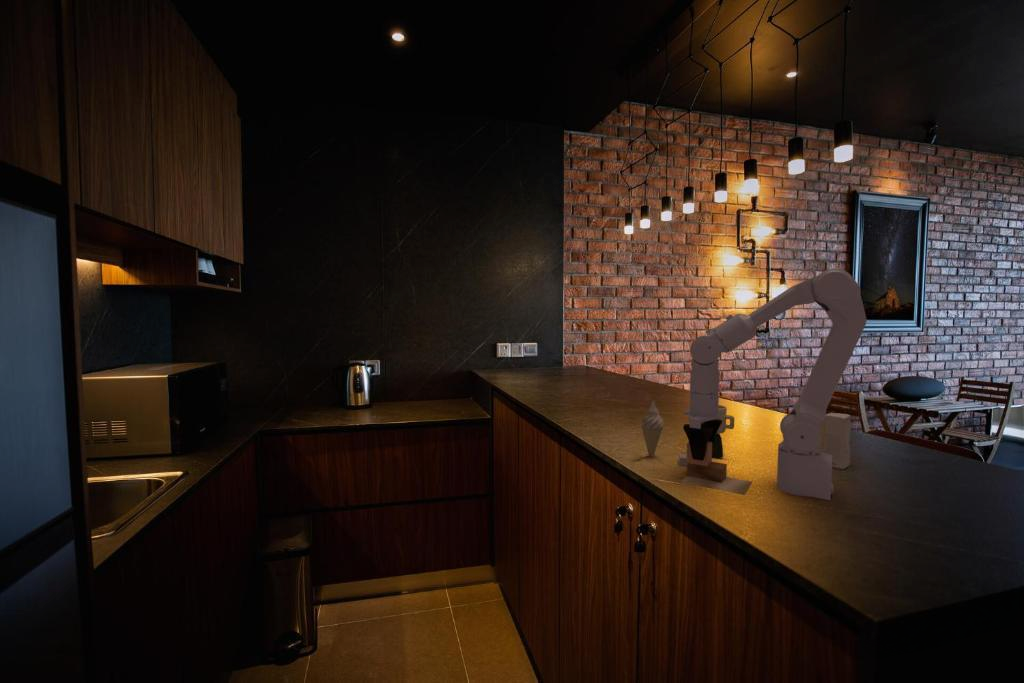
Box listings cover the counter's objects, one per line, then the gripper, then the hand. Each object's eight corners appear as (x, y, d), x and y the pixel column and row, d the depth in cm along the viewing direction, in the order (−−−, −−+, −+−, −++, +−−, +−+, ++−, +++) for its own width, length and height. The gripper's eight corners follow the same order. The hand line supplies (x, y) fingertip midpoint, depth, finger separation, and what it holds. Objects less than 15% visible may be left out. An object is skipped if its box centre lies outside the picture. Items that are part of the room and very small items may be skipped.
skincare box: (844, 470, 111) (846, 418, 111) (821, 465, 114) (824, 415, 114) (850, 464, 115) (852, 414, 115) (828, 460, 119) (830, 411, 118)
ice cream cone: (657, 464, 114) (659, 401, 113) (637, 460, 117) (638, 399, 116) (665, 459, 118) (666, 399, 117) (645, 456, 121) (646, 396, 120)
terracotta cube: (711, 461, 104) (712, 442, 104) (707, 466, 100) (707, 446, 100) (691, 458, 106) (692, 439, 106) (686, 462, 103) (686, 443, 103)
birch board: (752, 486, 100) (752, 481, 99) (744, 499, 92) (744, 494, 92) (692, 475, 106) (692, 470, 106) (680, 486, 99) (680, 481, 99)
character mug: (682, 456, 120) (684, 405, 120) (691, 450, 126) (693, 401, 125) (729, 465, 114) (730, 410, 113) (736, 458, 119) (738, 406, 119)
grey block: (696, 467, 113) (697, 454, 112) (698, 472, 109) (698, 459, 109) (678, 465, 114) (679, 453, 113) (679, 470, 110) (679, 457, 110)
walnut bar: (726, 476, 102) (726, 464, 102) (721, 482, 99) (722, 469, 99) (692, 470, 106) (692, 458, 106) (686, 476, 103) (687, 463, 103)
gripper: (693, 386, 110) (691, 445, 111) (675, 394, 98) (673, 460, 99) (726, 389, 106) (724, 450, 107) (711, 398, 94) (709, 466, 95)
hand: (702, 455), depth 103 cm, fingers open, 6 cm apart
